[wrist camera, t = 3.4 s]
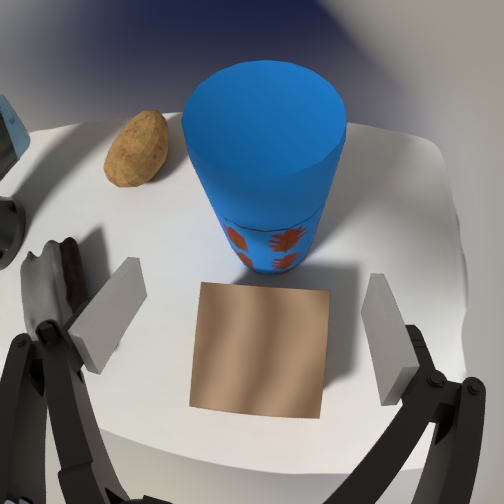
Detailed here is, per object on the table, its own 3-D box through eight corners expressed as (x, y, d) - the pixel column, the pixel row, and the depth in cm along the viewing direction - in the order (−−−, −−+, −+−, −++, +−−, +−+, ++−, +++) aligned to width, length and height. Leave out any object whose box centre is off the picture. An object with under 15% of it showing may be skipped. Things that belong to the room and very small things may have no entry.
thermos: (321, 262, 40) (379, 155, 16) (244, 286, 40) (197, 206, 16) (295, 192, 43) (307, 49, 19) (223, 214, 43) (169, 81, 19)
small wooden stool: (203, 395, 36) (189, 406, 29) (213, 291, 40) (201, 281, 33) (312, 405, 35) (319, 418, 28) (320, 299, 38) (329, 290, 32)
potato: (190, 133, 47) (177, 102, 40) (154, 206, 44) (133, 181, 36) (143, 127, 49) (127, 99, 41) (107, 193, 46) (83, 170, 38)
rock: (116, 356, 38) (85, 357, 31) (63, 372, 38) (30, 374, 30) (89, 243, 44) (61, 226, 36) (42, 268, 43) (13, 255, 36)
